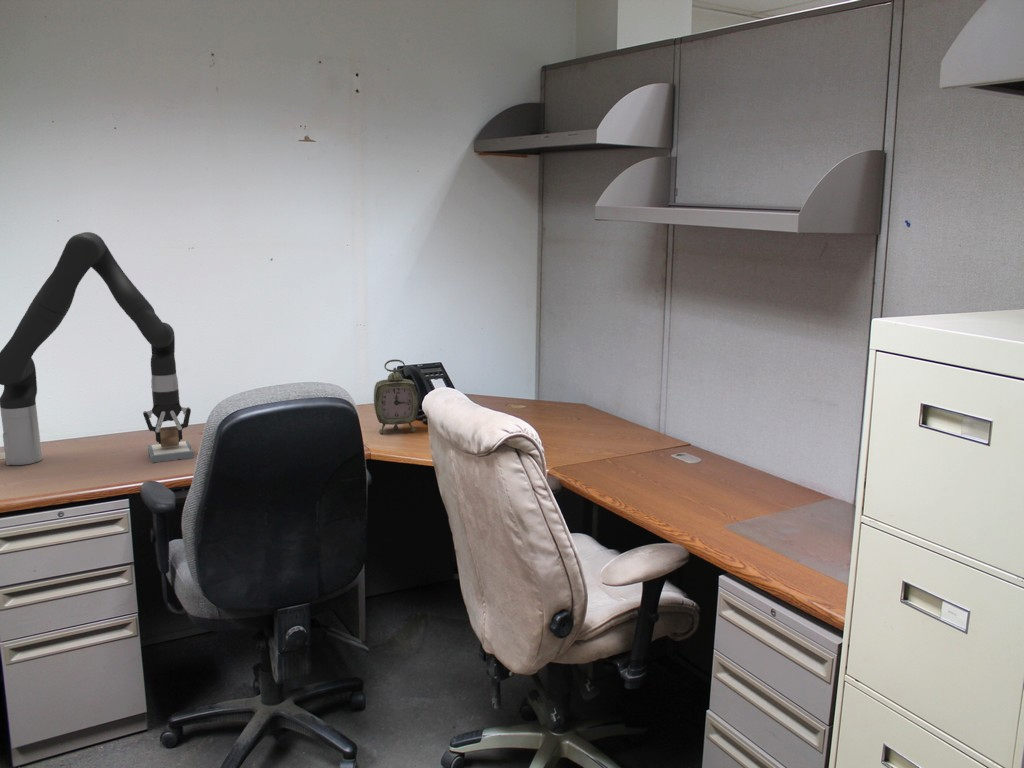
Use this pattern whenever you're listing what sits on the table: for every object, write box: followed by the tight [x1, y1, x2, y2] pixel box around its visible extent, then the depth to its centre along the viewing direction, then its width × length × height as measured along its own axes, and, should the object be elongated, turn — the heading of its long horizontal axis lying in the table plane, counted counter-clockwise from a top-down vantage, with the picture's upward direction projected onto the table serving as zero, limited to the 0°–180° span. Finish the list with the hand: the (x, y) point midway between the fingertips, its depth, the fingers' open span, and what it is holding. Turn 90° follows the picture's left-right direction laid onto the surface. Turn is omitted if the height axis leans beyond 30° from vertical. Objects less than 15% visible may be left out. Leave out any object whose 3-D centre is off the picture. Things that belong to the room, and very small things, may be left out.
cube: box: [160, 425, 179, 447], centre depth 259 cm, size 5×5×5 cm
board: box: [147, 440, 195, 463], centre depth 260 cm, size 12×14×2 cm
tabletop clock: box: [373, 359, 419, 435], centre depth 286 cm, size 14×9×25 cm, turn 104°
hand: (169, 442), depth 259 cm, fingers closed on cube, 5 cm apart
